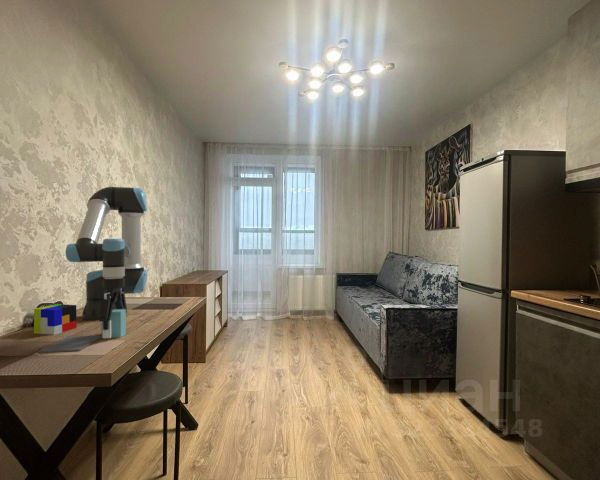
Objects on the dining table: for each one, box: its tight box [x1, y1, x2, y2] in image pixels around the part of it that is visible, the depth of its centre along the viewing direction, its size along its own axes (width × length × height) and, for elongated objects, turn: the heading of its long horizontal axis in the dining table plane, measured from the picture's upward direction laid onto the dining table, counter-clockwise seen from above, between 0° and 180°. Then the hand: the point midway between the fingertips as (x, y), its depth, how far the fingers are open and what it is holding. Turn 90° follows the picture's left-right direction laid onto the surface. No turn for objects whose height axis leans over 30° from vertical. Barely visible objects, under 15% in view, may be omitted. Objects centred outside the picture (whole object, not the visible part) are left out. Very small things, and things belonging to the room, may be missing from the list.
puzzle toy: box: [33, 303, 77, 336], centre depth 133 cm, size 10×10×10 cm
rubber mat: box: [37, 334, 103, 354], centre depth 115 cm, size 16×13×1 cm
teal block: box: [101, 309, 127, 339], centre depth 125 cm, size 4×7×10 cm, turn 96°
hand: (113, 333), depth 125 cm, fingers open, 10 cm apart
